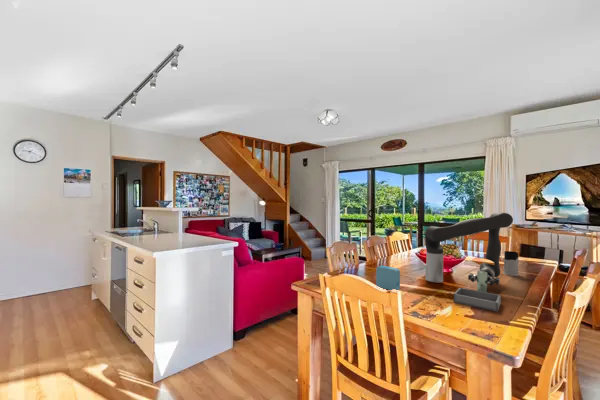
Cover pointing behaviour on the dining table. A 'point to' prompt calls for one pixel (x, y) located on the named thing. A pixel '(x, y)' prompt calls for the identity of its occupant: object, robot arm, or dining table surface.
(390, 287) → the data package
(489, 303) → the tote
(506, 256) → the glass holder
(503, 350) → the dining table surface
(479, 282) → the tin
